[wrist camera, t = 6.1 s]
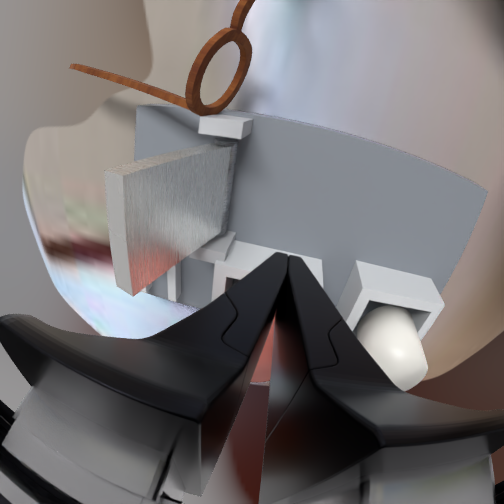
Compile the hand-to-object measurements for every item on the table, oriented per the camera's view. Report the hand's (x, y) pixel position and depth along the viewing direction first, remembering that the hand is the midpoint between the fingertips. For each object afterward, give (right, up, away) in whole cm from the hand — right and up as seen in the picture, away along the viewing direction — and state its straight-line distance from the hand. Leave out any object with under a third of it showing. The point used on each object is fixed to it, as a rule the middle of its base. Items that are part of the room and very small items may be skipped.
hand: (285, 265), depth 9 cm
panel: (+2, +2, +9) cm, 10 cm away
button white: (+7, -4, +7) cm, 11 cm away
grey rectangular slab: (-3, +4, +5) cm, 7 cm away
